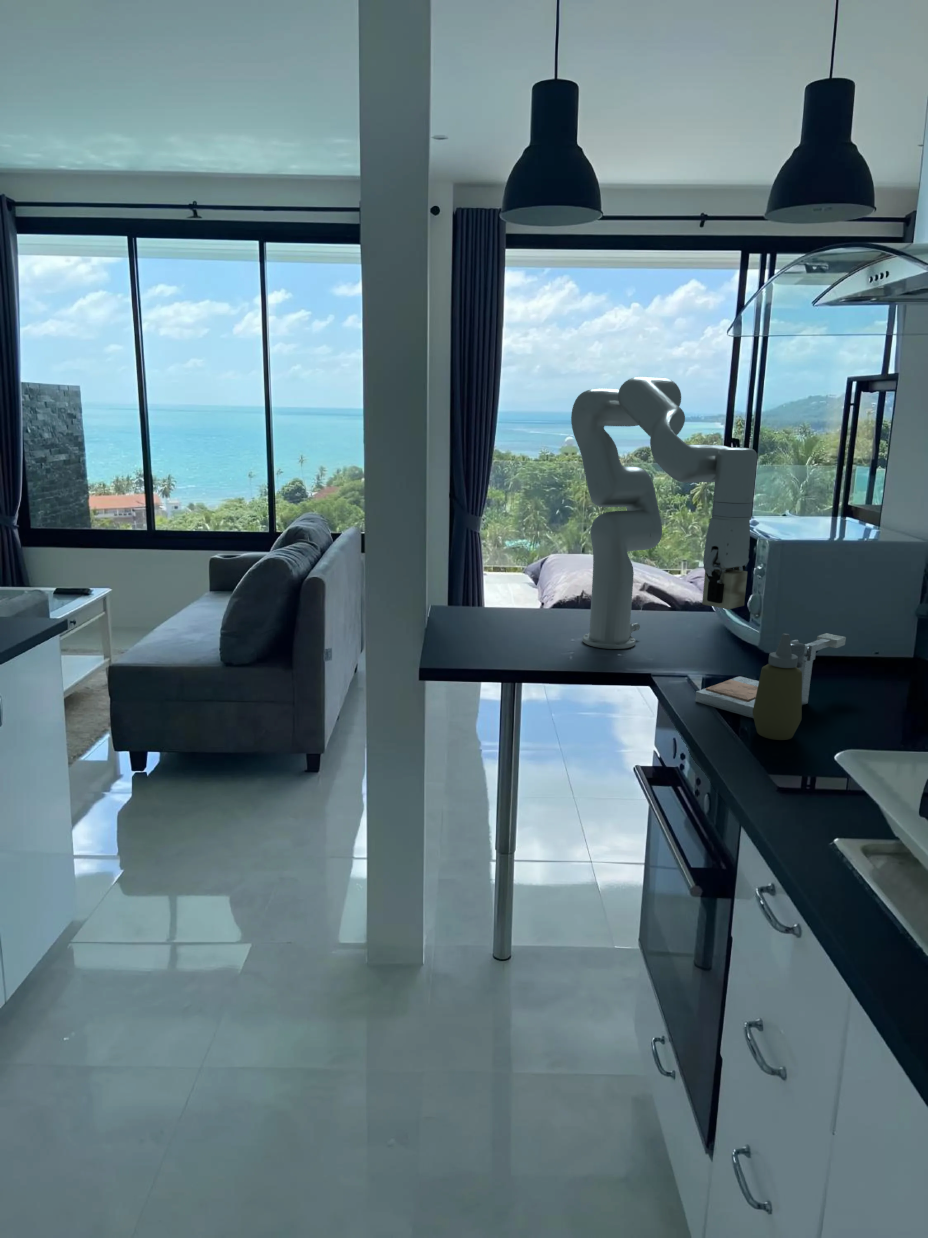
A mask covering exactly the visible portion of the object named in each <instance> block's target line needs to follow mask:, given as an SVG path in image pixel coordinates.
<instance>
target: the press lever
mask: <svg viewBox="0 0 928 1238" xmlns="http://www.w3.org/2000/svg"><path fill="white" fill-rule="evenodd" d="M846 639H847V637H846V636H842V635H837V634H831V633H827V632H826V633H823V634H819V635H817V637H816V640H814V641H811V642H808V643H805V644H804V643H802V642H794V641H793V640H790V643H791V652H792V654H794V655H796V656H798V662H797V666H796V667H797V668H800V667H803V660H804V656H805V657H807V656H808V648H809V645H811V644H817V647H816V652H818V651H819V650H820V651H821V650H823V649H825V648H829V647H830V648H834V649H838V648H841V647H843V646H845V645H846Z"/></svg>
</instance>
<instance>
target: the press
mask: <svg viewBox="0 0 928 1238" xmlns="http://www.w3.org/2000/svg"><path fill="white" fill-rule="evenodd" d="M792 641H794V642H799V640H798V639H794V640H792ZM816 647H817V644H811V645H809V648H808V656H807V657H806V656H804V660H803V667H800V668H799V669H800V670H801V671H802V706H804V705H806V704H808V702H809V695H810V688H811V687H810V686H811V685H810V684H811V678H812V670H813V663H814V660H816V654H817V653H816V652H817V651H816ZM758 684H759V680H755V679H752V678H747V677H744V676H739V675H738V676H736V677H733V678H730V679H728V680H725V681H723V682H719V683H717V684H714V685H711V686H708V687H706V688H705V687H704V688H702V689H700V690H697V691H695V699H694V700H695V701H694V702H696V703H700V704H702V705H703V704H704V705H706V706H710V707H713V708H717V709H720V710H724V711H727V712H730V713H734V714H737V715H741V716H743V717H748V718H750V719H751V718H752V719H754V717H753V707H754V702H755V698H756V693H757V689H758Z"/></svg>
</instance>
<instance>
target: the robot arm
mask: <svg viewBox="0 0 928 1238" xmlns="http://www.w3.org/2000/svg"><path fill="white" fill-rule="evenodd" d="M681 402H682V393H681V389H680V387H679V385H677V383H676V382H675V381H673V380H672V379H670V378H664V377H653V376H652V377H650V376H635V377H631V378H629V379H627V380H625V381H624V382H623V383H622V384H621V385H620V387H619V388H608V387H607V388H606V387H605V388H604V387H603V388H602V387H601V388H591V389H590V388H589V389H588V390H585V391H583V392H581V393H580V394H579V395H578V396H577V397H576V399H575V401H574V402H573V405H572V407H571V408H572V409H571V410H572V411H571V417H570V418H571V419H570V420H571V421H570V423H571V428H572V432H573V436H574V439H575V441H576V443H577V447H578V449H579V452H580V456H581V460H582V461H581V462H582V466H583V470H584V476H585V479H586V480H585V482H586V485H587V488H588V493H589V496H590V497H589V498H590V501H591V502H592V503H593V505H595V506H597V507H599V508H626V510H613V511H612V510H611V511H607V512H603V513H601V514H599V515H598V516H596V517H595V519H594V520H593V521H592V524H591V527H590V539H591V545H592V546H591V547H592V565H593V566H592V581H591V582H592V583H591V597H590V600H591V601H590V617H589V632H588V633H585V634H584V635H582V642H583V643H584V644H585V645H588V646H591V647H594V648H600V649H608V650H624V649H629V648H632V647H634V646H635V645H636V638H635V637H633V636H632V633H633V632H637V631H640V629H641V625H640V623H639V622H635V623H631V620H632V619H631V618H632V616H631V615H632V603H633V602H632V601H633V587H634V573H635V572H634V566H633V563H632V561H631V559H630V557H629V554H628V552H634V551H635V552H636V551H647V550H651V549H653V548H655V547H657V546H658V545H659V543H660V541H661V539H662V536H663V525H662V519H661V514H660V510H659V509H660V508H659V503H658V500H657V495H656V490H655V489H656V488H655V487H654V483H653V479H652V478H651V476H650V475H649V473H648V472H647V471H646V470H645V469H643V468H641V467H639V466H633V465H632V466H631V465H630V466H624V465H622V463H621V460H620V456H619V449H618V447H617V445H616V443H615V441H614V439H613V438H612V436H611V435H610V433H608V432H607V431H606V430H605V427H636V426H639V427H640V429H642V430H643V431H644V432H645V433H646V434H647V436H648V437H650V439H649V444H650V451H651V456H652V458H653V459H654V461H655V463H656V464H657V465H658V466H659V467H660V468H661V469H662V470H663V472H665V473H666V474H667V475H668V476H669V477H670V478H672V479H674V480H676V481H677V482H679V483H683V484H684V483H685V484H687V483H688V484H689V483H714V486H713V487H714V488H713V497H712V508H711V517H710V521H709V524H708V527H707V532H706V539H705V544H704V550H703V559H702V561H703V562H702V563H703V569H704V572H705V571H706V575H707V577H708V578H707V581H708V593H707V601H710V602H715V603H722V601H723V591H724V583H722V581H723V578H724V573H725V571H726V569H735V570H741V571H746V568H747V565H748V563H749V561H750V558H749V555H750V541H751V540H750V539H751V520H752V513H753V511H752V510H753V501H754V492H755V483H756V482H755V481H756V474H757V473H756V472H757V471H756V470H757V462H758V453H757V452H756V450H755V449H753V448H750V447H749V448H748V447H733V446H732V447H730V446H726V445H722V444H721V445H719V444H687V443H686V442H685V441H683V440H682V439H681V438H680V437H679V436H678V435H679V434H680V432H681V431H682V429H683V427H684V426H685V422H686V415H685V412H684V410H683V408H681V406H680V405H681V404H682V403H681ZM715 570H716V571H720V572H719V576H718V574H717V572H716V571H715Z"/></svg>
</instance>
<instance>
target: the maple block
mask: <svg viewBox="0 0 928 1238" xmlns="http://www.w3.org/2000/svg"><path fill="white" fill-rule="evenodd" d="M715 571H716V570H715ZM716 572H717V574H718V576H719V572H720V571H716ZM707 578H708V577H707V575H706V571H705V570H704V579H703V581H704V582H703V590H702V602H701V605H704V606H709V607H715V608H720V609H723V610H732V609H736V608H739V607H744V606H745V601H746V600H745V598H746V592H747V590H746V588H747V581H748V571H746V570H745V571H741V570H735V569H734V568H733V569H726V571H725V573H724V578H723V581H722V583H724V591H723V601H722V603H715V602H710V601H707V593H708V581H707Z"/></svg>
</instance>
